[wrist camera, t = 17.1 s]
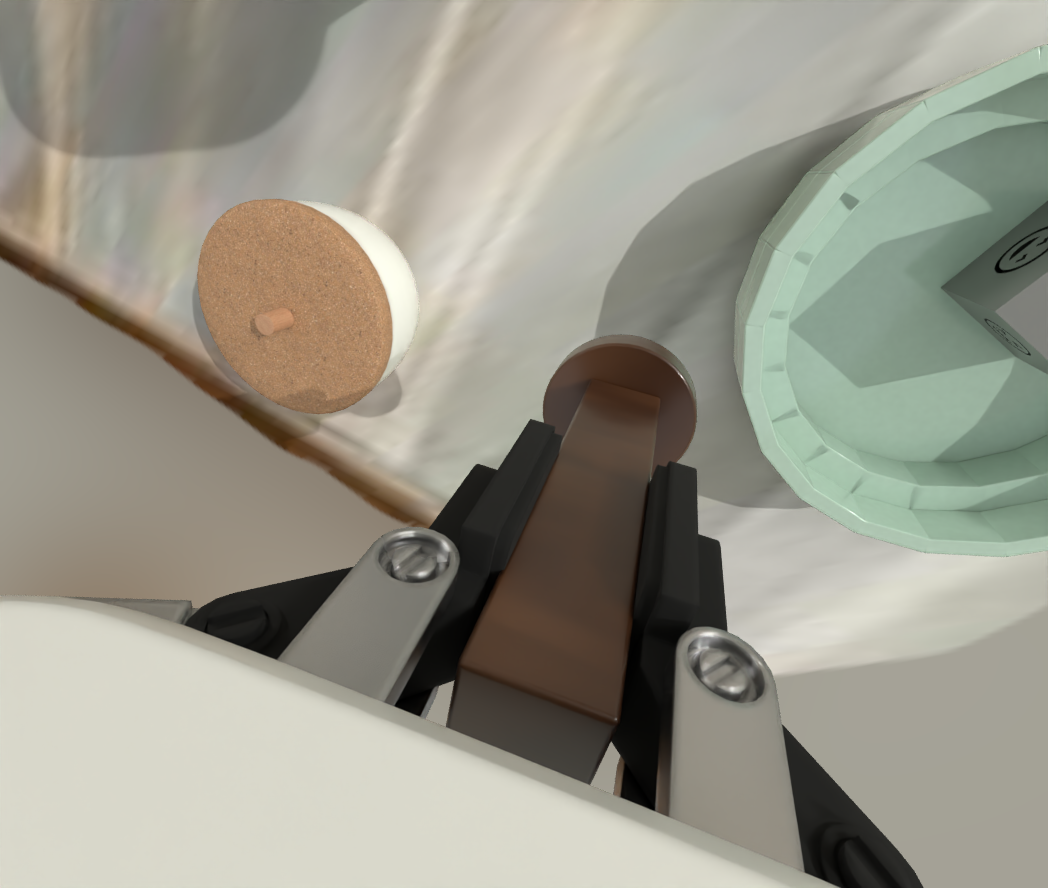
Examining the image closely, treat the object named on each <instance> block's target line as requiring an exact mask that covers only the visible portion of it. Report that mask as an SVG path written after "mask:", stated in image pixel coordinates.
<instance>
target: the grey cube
mask: <svg viewBox="0 0 1048 888" xmlns="http://www.w3.org/2000/svg"><path fill="white" fill-rule="evenodd" d="M941 288H942V289H943V290H944V291H945V292H946V293H947V294H948V295H949V296H950V297H951V298H952V299H953V300H955V301H956V302H957V303H958V304H959V305H960V306H961V307H962V308H963V309H964V310H965V311H967V312H968V313H969V314H970V315H971V316H972V317H973V318H974V319H975V320H976V321H977V322H979V323H980V324H981V325H982V326H983V327H984V328H985V329H986V330H987V331H988V332H989V333H990V334H992V335H993V336H994V337H995V338H996V339H997V340H998V341H999V342H1000V343H1001V344H1002V345H1004V346H1005V347H1006V348H1007V349H1008V350H1009V351H1010V352H1011V353H1012V354H1013V355H1014V356H1016V357H1017V358H1019V359H1020V360H1022V361H1024V362H1026V363H1028V364H1030V365H1031V366H1033V367H1035V368H1037V369H1039V370H1040V371H1042V372H1044V373H1046V374H1048V201H1047V202H1045V203H1044V204H1043V205H1042V206H1040V207H1039V208H1038V209H1037V210H1035V211H1034V212H1033V213H1032V214H1031V215H1029V216H1028V217H1027V218H1026V219H1024V220H1023V221H1022V222H1021V223H1019V224H1018V225H1017V226H1016V227H1015V228H1013V229H1012V230H1011V231H1010V232H1008V233H1007V234H1006V235H1005V236H1003V237H1002V238H1001V239H1000V240H998V241H997V242H996V243H995V244H994V245H992V246H991V247H990V248H989V249H987V250H986V251H985V252H984V253H982V254H981V255H980V256H979V257H978V258H976V259H975V260H974V261H973V262H971V263H970V264H969V265H968V266H966V267H965V268H964V269H963V270H962V271H960V272H959V273H958V274H957V275H955V276H954V277H953V278H952V279H950V280H949V281H948V282H947V283H945V284H944V285H943V286H942V287H941Z"/></svg>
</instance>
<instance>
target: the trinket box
mask: <svg viewBox="0 0 1048 888" xmlns="http://www.w3.org/2000/svg"><path fill="white" fill-rule="evenodd" d="M197 277H198V291H199V297H200V303H201V308H202V311H203V314H204V317H205V320H206V323H207V325H208V328H209V330H210V333H211V335H212V337H213V339H214V341H215V343H216V344H217V346H218V348H219V349H220V351H221V353H222V354H223V356H224V357H225V358H226V360H227V361H228V363H229V364H230V366H231V367H232V368H233V369H234V370H235V371H236V372H237V373H238V374H239V375H240V377H241V378H242V379H244V380H245V381H246V382H247V383H248V384H249V385H250V386H251V387H252V388H253V389H255V390H256V391H258V392H259V393H260V394H262V395H263V396H265V397H266V398H268V399H270V400H272V401H273V402H275V403H277V404H279V405H281V406H284V407H287V408H289V409H292V410H296V411H300V412H304V413H312V414H325V413H333V412H336V411H340V410H343V409H345V408H347V407H349V406H351V405H353V404H355V403H356V402H358V401H359V400H361V399H362V398H363V397H364V396H366V395H367V394H368V393H369V392H370V391H372V389H373V388H374V387H376V386H377V385H378V384H379V383H381V382H382V381H383V380H384V379H386V378H387V377H388V376H389V375H390V374H391V373H392V372H393V371H394V370H395V368H396V367H397V366H398V365H399V364H400V362H401V361H402V360H403V358H404V357H405V355H406V354H407V352H408V350H409V348H410V346H411V344H412V342H413V339H414V336H415V333H416V329H417V324H418V318H419V298H418V290H417V287H416V283H415V279H414V276H413V274H412V271H411V269H410V266H409V264H408V262H407V261H406V259H405V257H404V255H403V254H402V252H401V251H400V249H399V248H398V247H397V245H396V244H395V243H394V241H393V240H392V239H391V238H390V237H389V236H388V235H387V234H386V233H385V232H384V231H382V230H381V229H380V228H378V227H377V226H376V225H374V224H373V223H372V222H370V221H369V220H368V219H366V218H364V217H362V216H360V215H358V214H357V213H354V212H352V211H349V210H346V209H343V208H340V207H337V206H334V205H330V204H324V203H318V202H311V201H288V200H282V199H265V200H253V201H249V202H245V203H242V204H239V205H237V206H235V207H233V208H232V209H230V210H228V211H227V212H226V213H224V214H223V215H222V216H221V217H220V218H219V219H218V220H217V221H216V222H215V224H214V225H213V226H212V228H211V229H210V231H209V232H208V235H207V237H206V239H205V241H204V243H203V245H202V249H201V254H200V258H199V265H198V274H197Z"/></svg>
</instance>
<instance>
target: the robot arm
mask: <svg viewBox="0 0 1048 888" xmlns="http://www.w3.org/2000/svg"><path fill="white" fill-rule="evenodd" d="M562 438H563V436H562V435H559V434H556V433H555V426H552V425H549V424H546V423H542V422H539V421H536V420H532V419H530V421H529V422H528V424H527V425H526V427H525V428H524V430H523V431H522V433H521V435H520V436H519V438H518V439H517V441H516V442H515V444H514V445H513V447H512V449H511V450H510V452H509V453H508V455H507V456H506V458H505V459H504V461H503V463H502V464H501V466H500V467H499V469H498V470H496V469H493V468H489V467H486V466H483V465H480V464H476V465H475V466H474V467H473V469H472V470H471V471H470V473H469V474H468V476H467V477H466V478H465V480H464V481H463V482H462V484H461V485H460V487H459V488H458V489H457V491H456V492H455V493H454V495H453V496H452V498H451V499H450V500H449V502H448V503H447V504H446V506H445V507H444V508H443V510H442V511H441V513H440V514H439V515H438V517H437V518H436V519H435V521H434V522H433V524H432V525H431V526H430V528H429V529H426V528H421V527H406V528H401V529H396V530H393V531H391V532H388V533H386V534H384V535H382V536H381V537H380V538H379V539H378V540H376V541H375V542H374V543H373V544H372V546H371V547H370V548H369V549H368V550H367V552H366V553H365V554H364V555H363V556H362V558H361V559H360V560H359V561H358V563H357V564H356V565H355V566H354V567H350V568H346V569H341V570H336V571H332V572H328V573H323V574H318V575H314V576H309V577H305V578H300V579H296V580H291V581H286V582H282V583H277V584H273V585H268V586H264V587H260V588H255V589H250V590H246V591H241V592H237V593H233V594H229V595H226V596H223V597H220V598H217V599H215V600H213V601H212V602H210V603H208V604H206V605H204V606H203V607H201V608H199V609H198V608H192V603H191V601H187V600H155V599H153V600H152V599H123V598H91V597H90V598H89V597H57V596H22V595H18V596H17V595H0V888H923V886H922V884H921V883H920V880H919V879H918V877H917V875H916V873H915V872H914V870H913V869H912V868H911V866H910V865H909V864H908V862H907V861H906V860H905V859H904V858H903V856H902V855H901V854H900V853H899V851H898V850H897V849H896V848H895V847H894V846H893V844H892V843H891V842H890V841H889V840H888V839H887V838H886V837H885V836H884V835H883V833H882V832H881V831H880V830H879V829H878V828H877V827H876V826H875V825H874V824H873V823H872V822H871V820H870V819H869V818H868V817H867V816H866V815H865V814H864V813H863V812H862V811H861V810H860V809H859V807H858V806H857V805H856V804H855V803H854V802H853V801H852V800H851V799H850V798H849V796H848V795H847V794H846V793H845V792H844V791H843V790H842V789H841V788H840V787H839V786H838V784H837V783H836V782H835V781H834V780H833V779H832V778H831V777H830V776H829V775H828V774H827V773H826V772H825V770H824V769H823V768H822V767H821V766H820V765H819V764H818V763H817V762H816V760H815V759H814V758H813V757H812V756H811V755H810V754H809V753H808V752H807V751H806V750H805V749H804V747H802V745H801V744H800V743H799V742H798V741H797V740H796V739H795V738H794V736H793V735H792V734H791V733H790V732H789V731H788V730H787V729H786V728H785V727H784V726H783V725H782V722H781V716H780V709H779V703H778V697H777V690H776V684H775V681H774V678H773V675H772V672H771V670H770V669H769V667H768V666H767V664H766V662H765V661H764V659H763V658H762V657H761V656H760V655H759V654H758V653H757V652H756V651H755V650H754V649H753V648H752V647H751V646H750V645H749V644H747V643H746V642H744V641H743V640H742V639H740V638H739V637H737V636H735V635H733V634H731V633H729V632H727V620H726V607H725V595H724V583H723V570H722V558H721V547H720V542H719V541H718V540H715V539H712V538H708V537H705V536H702V535H699V534H698V509H697V470H696V469H695V468H692V467H688V466H685V465H682V464H678V463H675V462H672V461H669V462H668V464H667V466H666V467H665V466H661V465H657V466H656V468H655V471H654V473H653V476H652V479H651V481H650V486H649V494H648V501H647V509H646V517H645V525H644V533H643V541H642V548H641V556H640V564H639V572H638V580H637V587H636V595H635V603H634V611H633V623H632V631H631V639H630V647H629V655H628V663H627V671H626V679H625V687H624V695H623V703H622V711H621V719H620V723H619V725H618V727H617V730H616V732H615V734H614V736H613V738H612V740H611V742H612V743H613V744H614V746H615V748H616V749H617V751H618V752H619V754H620V755H621V756H620V759H619V762H618V765H617V771H616V778H615V785H614V792H613V794H611V793H608V792H606V791H603V790H601V789H598V788H596V787H593V786H591V785H588V784H586V783H583V782H581V781H578V780H576V779H573V778H571V777H568V776H566V775H564V774H561V773H559V772H556V771H554V770H551V769H549V768H546V767H544V766H541V765H539V764H536V763H534V762H531V761H529V760H526V759H524V758H521V757H519V756H516V755H514V754H511V753H509V752H506V751H504V750H501V749H499V748H496V747H494V746H492V745H489V744H487V743H484V742H482V741H479V740H477V739H474V738H472V737H469V736H467V735H464V734H462V733H459V732H457V731H454V730H452V729H449V728H447V727H444V726H442V725H439V724H437V723H434V722H432V721H429V720H426V716H427V714H428V712H429V710H430V708H431V705H432V704H433V702H434V699H435V697H436V694H437V691H438V688H439V686H440V685H442V684H445V683H448V682H451V681H454V680H455V676H456V670H457V665H458V660H459V658H460V656H461V654H462V652H463V650H464V647H465V645H466V643H467V641H468V639H469V637H470V635H471V633H472V631H473V628H474V626H475V624H476V622H477V620H478V618H479V616H480V614H481V611H482V609H483V607H484V605H485V603H486V601H487V599H488V597H489V595H490V592H491V590H492V588H493V586H494V584H495V582H496V580H497V578H498V575H499V573H500V572H501V571H502V570H504V569H505V567H506V565H507V563H508V561H509V559H510V557H511V554H512V552H513V550H514V548H515V546H516V544H517V541H518V539H519V537H520V535H521V533H522V531H523V529H524V526H525V524H526V522H527V520H528V518H529V516H530V514H531V511H532V509H533V507H534V505H535V503H536V501H537V498H538V496H539V494H540V492H541V490H542V488H543V486H544V483H545V481H546V479H547V477H548V475H549V473H550V470H551V468H552V466H553V464H554V462H555V460H556V458H557V455H558V453H559V450H560V446H561V442H562Z"/></svg>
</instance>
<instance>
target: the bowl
mask: <svg viewBox="0 0 1048 888" xmlns="http://www.w3.org/2000/svg"><path fill="white" fill-rule="evenodd" d="M1047 201H1048V44H1046V45H1042V46H1039V47H1035V48H1033V49H1030V50H1027V51H1024V52H1022V53H1019V54H1016V55H1014V56H1011V57H1008V58H1006V59H1003V60H1000V61H998V62H996V63H993V64H990V65H987V66H984V67H982V68H979V69H976V70H974V71H971V72H968V73H966V74H963V75H961V76H959V77H957V78H955V79H953V80H951V81H948V82H946V83H944V84H942V85H940V86H938V87H936V88H934V89H931V90H929V91H927V92H925V93H923V94H921V95H919V96H917V97H914V98H912V99H910V100H908V101H906V102H904V103H902V104H900V105H897V106H895V107H893V108H891V109H889V110H887V111H885V112H883V113H880V114H879V115H878V116H876V117H874V118H873V119H872V120H870V121H869V122H868V123H867V124H865V125H864V126H863V127H862V128H861V129H859V130H858V131H857V132H856V133H854V134H853V135H852V136H851V137H850V138H848V139H847V140H846V141H845V142H843V143H842V144H841V145H840V146H839V147H837V148H836V149H835V150H834V151H832V152H831V153H830V154H829V155H828V156H826V157H825V158H824V159H823V160H821V161H820V162H819V163H818V164H816V165H815V166H814V167H813V168H812V169H810V170H809V171H808V172H807V173H806V174H805V175H804V177H803V178H802V179H801V181H800V182H799V183H798V185H797V186H796V188H795V189H794V190H793V192H792V193H791V194H790V196H789V197H788V198H787V200H786V201H785V203H784V204H783V205H782V207H781V208H780V209H779V211H778V212H777V213H776V215H775V216H774V217H773V219H772V220H771V222H770V223H769V224H768V226H767V227H766V228H765V230H764V231H763V232H762V234H761V235H760V237H759V239H758V242H757V244H756V247H755V250H754V252H753V255H752V258H751V260H750V263H749V266H748V269H747V271H746V274H745V277H744V279H743V282H742V285H741V287H740V290H739V293H738V296H737V298H736V304H735V332H734V363H735V367H736V371H737V375H738V380H739V384H740V388H741V392H742V396H743V399H744V402H745V405H746V408H747V411H748V414H749V417H750V420H751V423H752V426H753V429H754V432H755V435H756V438H757V441H758V444H759V447H760V450H761V451H762V453H763V454H764V456H765V457H766V458H767V459H768V461H769V462H770V463H771V464H772V465H773V467H774V468H775V469H776V470H777V472H778V473H779V474H780V475H781V476H782V478H783V479H784V480H785V481H786V482H787V484H788V485H789V486H790V487H791V489H792V490H793V491H794V492H795V493H796V495H797V496H798V497H799V498H800V499H801V500H803V501H805V502H806V503H808V504H809V505H811V506H813V507H814V508H816V509H817V510H819V511H821V512H822V513H824V514H825V515H827V516H829V517H830V518H832V519H833V520H835V521H837V522H838V523H840V524H841V525H843V526H845V527H846V528H848V529H850V530H851V531H853V532H856V533H858V534H861V535H864V536H868V537H871V538H875V539H878V540H882V541H885V542H889V543H892V544H895V545H899V546H902V547H906V548H909V549H913V550H916V551H920V552H924V553H935V554H954V555H973V556H992V557H1005V556H1006V557H1009V556H1016V555H1022V554H1029V553H1036V552H1042V551H1048V374H1046V373H1044V372H1042V371H1040V370H1039V369H1037V368H1035V367H1033V366H1031V365H1030V364H1028V363H1026V362H1024V361H1022V360H1020V359H1019V358H1017V357H1016V356H1014V355H1013V354H1012V353H1011V352H1010V351H1009V350H1008V349H1007V348H1006V347H1005V346H1004V345H1002V344H1001V343H1000V342H999V341H998V340H997V339H996V338H995V337H994V336H993V335H992V334H990V333H989V332H988V331H987V330H986V329H985V328H984V327H983V326H982V325H981V324H980V323H979V322H977V321H976V320H975V319H974V318H973V317H972V316H971V315H970V314H969V313H968V312H967V311H965V310H964V309H963V308H962V307H961V306H960V305H959V304H958V303H957V302H956V301H955V300H953V299H952V298H951V297H950V296H949V295H948V294H947V293H946V292H945V291H944V290H943V289H942V288H941V287H942V286H943V285H944V284H945V283H947V282H948V281H949V280H950V279H952V278H953V277H954V276H955V275H957V274H958V273H959V272H960V271H962V270H963V269H964V268H965V267H966V266H968V265H969V264H970V263H971V262H973V261H974V260H975V259H976V258H978V257H979V256H980V255H981V254H982V253H984V252H985V251H986V250H987V249H989V248H990V247H991V246H992V245H994V244H995V243H996V242H997V241H998V240H1000V239H1001V238H1002V237H1003V236H1005V235H1006V234H1007V233H1008V232H1010V231H1011V230H1012V229H1013V228H1015V227H1016V226H1017V225H1018V224H1019V223H1021V222H1022V221H1023V220H1024V219H1026V218H1027V217H1028V216H1029V215H1031V214H1032V213H1033V212H1034V211H1035V210H1037V209H1038V208H1039V207H1040V206H1042V205H1043V204H1044V203H1045V202H1047Z"/></svg>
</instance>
